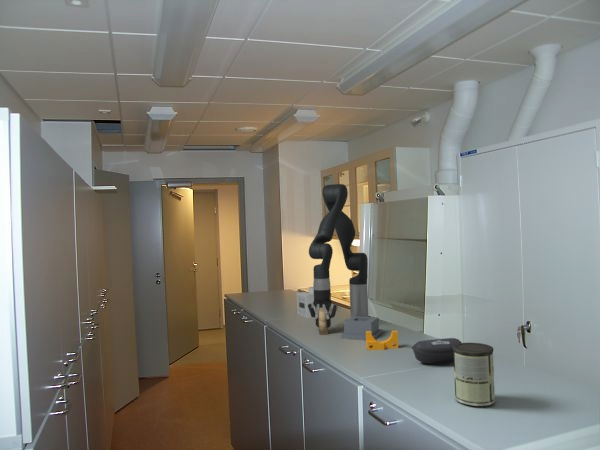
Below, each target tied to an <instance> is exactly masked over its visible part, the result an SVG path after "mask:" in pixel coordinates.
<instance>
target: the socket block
mask: <svg viewBox="0 0 600 450" xmlns="http://www.w3.org/2000/svg"><path fill="white" fill-rule="evenodd" d="M379 320H380V318H379V317H378V316H368V317H359V316H352V317H351V316H349V318H347V319H345V320H344V321H343V333H342V334H340V339H345V340H360V341H366V331H371V333H372V336H373V338H374V339H376V340H377V338H379V336H380V335H381V334H382V333H383V329H382V328H380V326H379V325H380V322H379Z"/></svg>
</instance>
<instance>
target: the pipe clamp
mask: <svg viewBox="0 0 600 450" xmlns="http://www.w3.org/2000/svg"><path fill="white" fill-rule="evenodd" d="M398 332H399V331H398V330H391V333H390V336H389V338H387V339H386V340H377V338H376V339H374V338H373V336H372V333H371V331H366V340H365V344H366V345H365V347H366V350H367V351H385V350H386V349H388V350H389V349H399V333H398Z"/></svg>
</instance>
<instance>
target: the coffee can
mask: <svg viewBox="0 0 600 450" xmlns="http://www.w3.org/2000/svg"><path fill="white" fill-rule="evenodd" d="M453 352H454V361H453V370H454V371H453V372H454V373H453V375H454V392H455V393H454V399H455V400H456V401H457V402H458V403H461V404H463V405H466V406H474V407H486V406H491V405H493V404H494V403H495V402H496V398H495V397H496V396H495V376H494V375H495V374H494V373H495V372H494V371H495V369H494V347H493V346H491V345H489V344H486V343H479V342H462V343H459V344H456V345H454V346H453Z"/></svg>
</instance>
